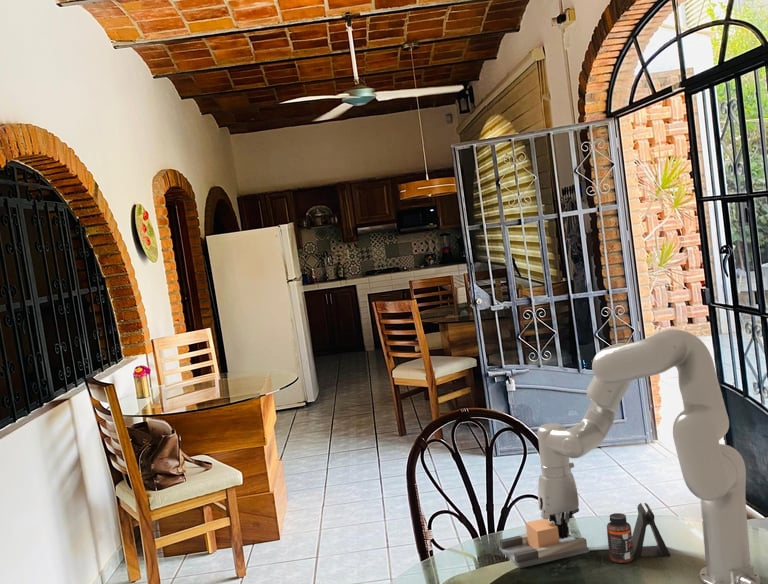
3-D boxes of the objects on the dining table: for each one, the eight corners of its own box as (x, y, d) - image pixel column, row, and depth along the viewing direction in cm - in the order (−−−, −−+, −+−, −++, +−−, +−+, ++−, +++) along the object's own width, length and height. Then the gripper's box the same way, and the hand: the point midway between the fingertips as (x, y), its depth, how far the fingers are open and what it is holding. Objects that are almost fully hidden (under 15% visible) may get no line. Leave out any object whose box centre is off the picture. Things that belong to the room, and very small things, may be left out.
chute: (589, 551, 194) (588, 540, 194) (519, 568, 189) (518, 556, 189) (565, 534, 206) (564, 524, 206) (499, 549, 202) (498, 538, 202)
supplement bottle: (635, 563, 184) (631, 519, 184) (610, 564, 185) (606, 520, 185) (632, 553, 190) (628, 510, 189) (608, 554, 191) (604, 511, 191)
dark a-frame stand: (633, 558, 187) (629, 512, 187) (629, 548, 193) (625, 503, 193) (670, 556, 186) (666, 510, 185) (664, 546, 192) (660, 501, 191)
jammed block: (560, 548, 195) (557, 526, 195) (539, 553, 194) (537, 531, 193) (548, 539, 202) (545, 518, 202) (527, 544, 200) (525, 522, 200)
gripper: (574, 461, 203) (580, 526, 204) (524, 471, 200) (531, 537, 201) (587, 468, 196) (594, 535, 197) (536, 479, 193) (543, 547, 194)
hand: (562, 536), depth 199 cm, fingers closed
